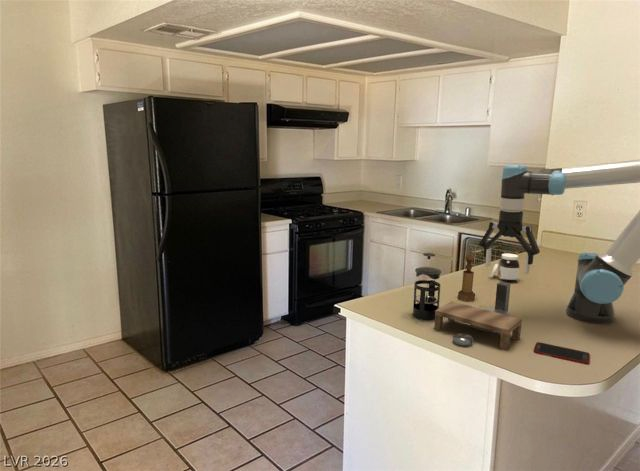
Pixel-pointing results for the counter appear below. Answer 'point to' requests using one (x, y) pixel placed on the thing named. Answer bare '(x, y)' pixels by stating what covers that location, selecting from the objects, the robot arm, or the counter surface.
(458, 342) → the steel token
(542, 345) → the cell phone
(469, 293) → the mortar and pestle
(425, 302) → the french press
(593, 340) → the counter surface
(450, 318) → the low bench
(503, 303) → the scraper
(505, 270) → the spread jar
